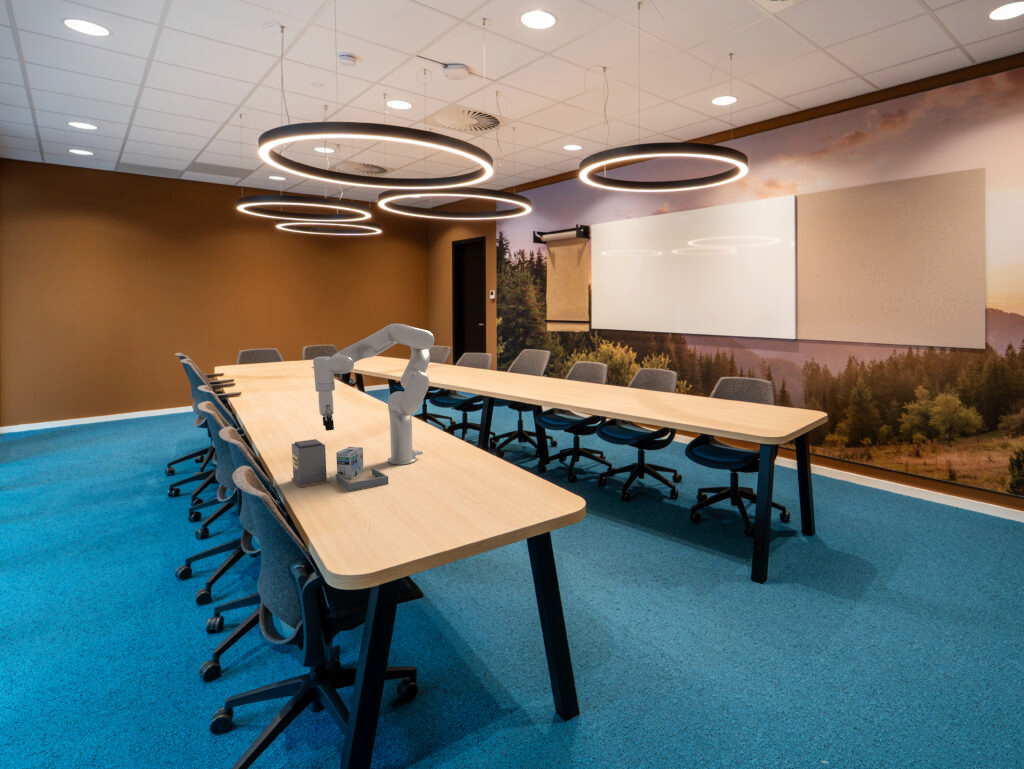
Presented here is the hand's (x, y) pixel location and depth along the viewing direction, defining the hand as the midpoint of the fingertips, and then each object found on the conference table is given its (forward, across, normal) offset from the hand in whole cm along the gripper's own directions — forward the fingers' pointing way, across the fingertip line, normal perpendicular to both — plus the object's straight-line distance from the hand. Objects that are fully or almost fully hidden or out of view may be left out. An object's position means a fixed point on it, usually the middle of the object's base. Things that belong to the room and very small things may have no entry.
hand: (328, 427), depth 222 cm
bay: (+19, +19, +9) cm, 29 cm away
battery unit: (+19, +10, -9) cm, 23 cm away
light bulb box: (+20, +7, +6) cm, 22 cm away
